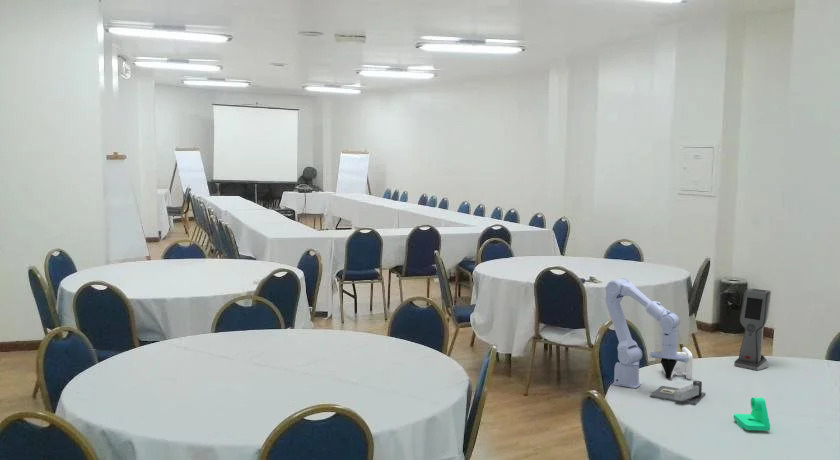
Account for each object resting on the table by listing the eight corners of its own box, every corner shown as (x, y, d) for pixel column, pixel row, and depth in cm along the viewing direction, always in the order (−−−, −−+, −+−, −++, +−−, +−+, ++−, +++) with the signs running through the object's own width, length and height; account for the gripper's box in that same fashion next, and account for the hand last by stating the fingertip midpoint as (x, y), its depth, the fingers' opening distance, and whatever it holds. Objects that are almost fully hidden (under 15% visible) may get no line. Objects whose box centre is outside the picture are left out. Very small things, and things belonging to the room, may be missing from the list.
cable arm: (695, 393, 272) (695, 380, 271) (703, 395, 269) (703, 381, 269) (674, 400, 262) (674, 387, 261) (682, 403, 259) (682, 389, 259)
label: (659, 392, 273) (659, 391, 273) (663, 389, 277) (663, 388, 277) (672, 394, 270) (672, 393, 270) (676, 391, 274) (676, 390, 274)
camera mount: (732, 421, 243) (733, 392, 242) (754, 421, 242) (755, 392, 241) (746, 433, 231) (747, 403, 230) (769, 433, 230) (770, 403, 229)
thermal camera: (772, 366, 315) (774, 290, 313) (758, 371, 307) (760, 293, 305) (747, 361, 324) (749, 287, 322) (732, 365, 317) (735, 290, 314)
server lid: (649, 397, 269) (649, 395, 269) (661, 387, 282) (661, 385, 282) (695, 405, 259) (695, 403, 259) (705, 394, 272) (705, 392, 272)
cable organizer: (693, 381, 291) (693, 354, 290) (666, 380, 293) (667, 353, 292) (685, 372, 306) (685, 346, 305) (660, 371, 308) (660, 345, 307)
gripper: (691, 344, 272) (690, 378, 272) (653, 339, 280) (653, 372, 281) (686, 348, 266) (685, 382, 267) (648, 343, 274) (647, 376, 275)
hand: (668, 377), depth 273 cm, fingers closed
